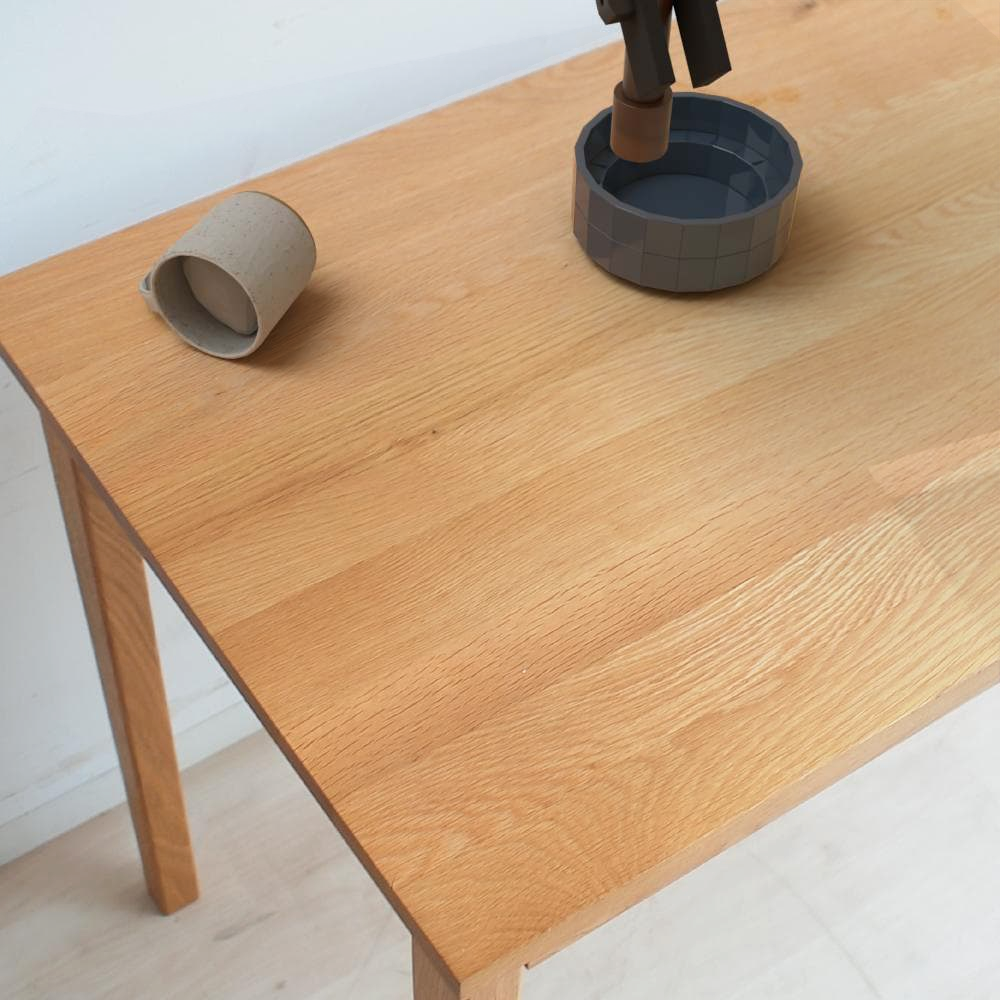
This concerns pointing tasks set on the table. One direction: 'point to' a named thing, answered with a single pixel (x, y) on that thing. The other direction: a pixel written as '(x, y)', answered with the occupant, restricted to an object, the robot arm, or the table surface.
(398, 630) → the table surface
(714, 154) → the bowl
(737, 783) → the table surface
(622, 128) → the brown pestle
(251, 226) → the ceramic mug
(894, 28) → the table surface
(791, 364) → the table surface
